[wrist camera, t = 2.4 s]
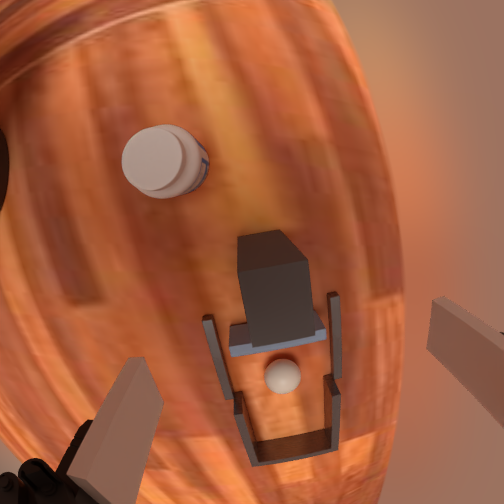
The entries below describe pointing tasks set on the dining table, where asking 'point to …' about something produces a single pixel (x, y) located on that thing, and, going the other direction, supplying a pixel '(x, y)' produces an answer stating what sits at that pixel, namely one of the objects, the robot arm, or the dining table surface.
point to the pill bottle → (165, 161)
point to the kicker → (273, 296)
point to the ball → (282, 376)
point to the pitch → (297, 444)
